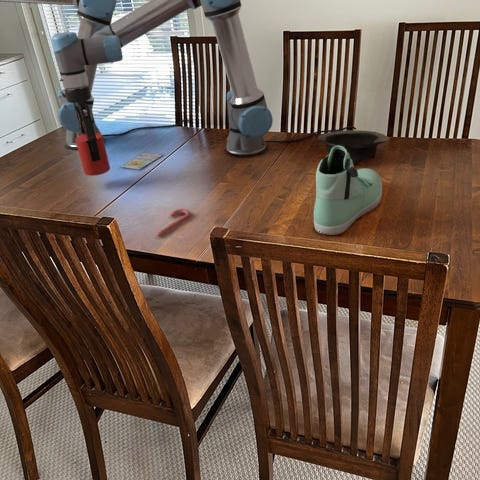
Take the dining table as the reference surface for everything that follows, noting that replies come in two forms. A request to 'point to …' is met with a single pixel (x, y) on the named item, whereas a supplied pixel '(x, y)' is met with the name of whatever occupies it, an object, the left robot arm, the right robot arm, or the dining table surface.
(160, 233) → the candy cane
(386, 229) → the dining table surface
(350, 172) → the sneaker
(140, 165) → the baking ingredient package
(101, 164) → the can
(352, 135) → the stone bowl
